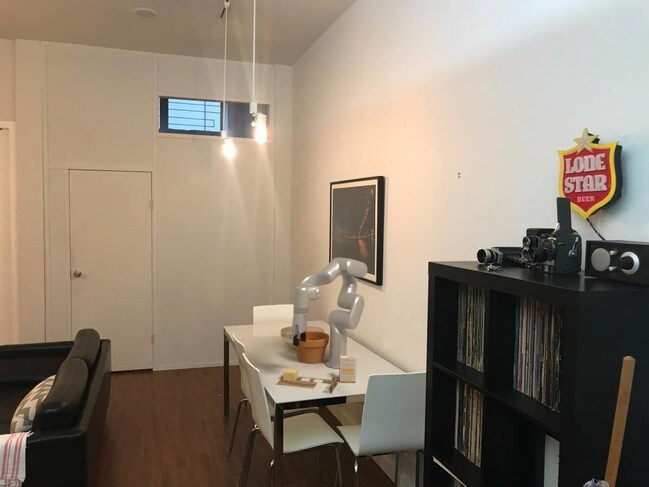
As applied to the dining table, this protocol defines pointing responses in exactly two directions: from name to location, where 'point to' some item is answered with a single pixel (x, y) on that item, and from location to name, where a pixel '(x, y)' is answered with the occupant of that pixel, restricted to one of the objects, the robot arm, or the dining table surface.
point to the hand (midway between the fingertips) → (299, 343)
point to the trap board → (310, 383)
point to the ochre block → (290, 374)
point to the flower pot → (312, 347)
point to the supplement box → (347, 368)
